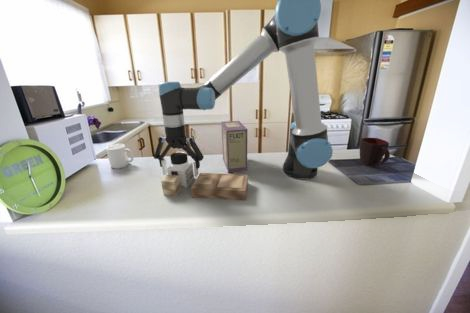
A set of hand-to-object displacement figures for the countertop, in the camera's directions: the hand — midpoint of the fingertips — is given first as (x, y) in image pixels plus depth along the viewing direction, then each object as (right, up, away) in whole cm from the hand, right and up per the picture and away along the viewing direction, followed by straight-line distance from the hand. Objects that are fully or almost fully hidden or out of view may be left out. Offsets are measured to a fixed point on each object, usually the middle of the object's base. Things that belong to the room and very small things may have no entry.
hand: (181, 174), depth 85 cm
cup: (-34, +3, +18) cm, 38 cm away
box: (+22, +3, +16) cm, 28 cm away
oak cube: (-2, -6, -6) cm, 9 cm away
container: (0, -3, +1) cm, 4 cm away
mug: (+88, +3, +12) cm, 89 cm away
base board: (+17, -6, -5) cm, 19 cm away
